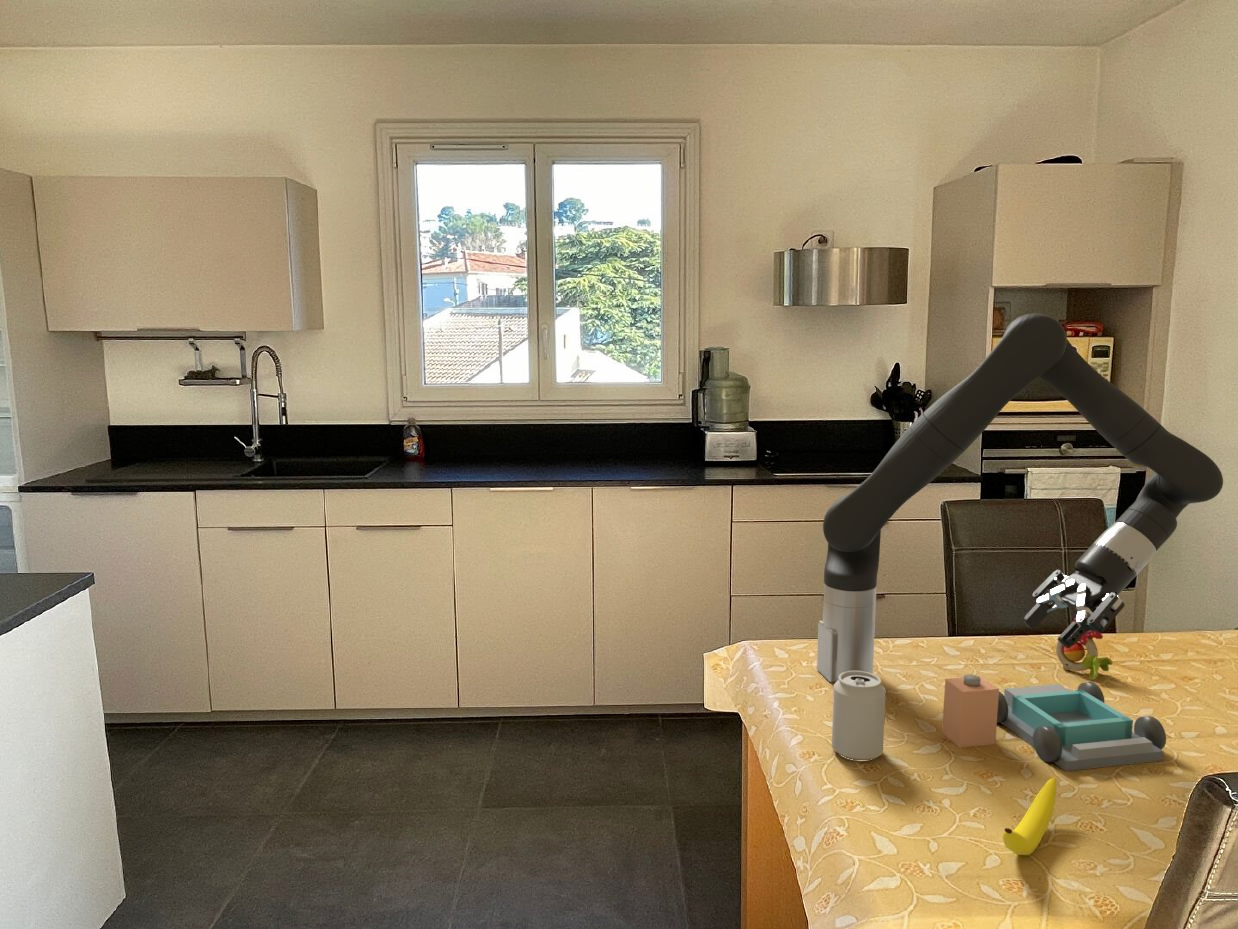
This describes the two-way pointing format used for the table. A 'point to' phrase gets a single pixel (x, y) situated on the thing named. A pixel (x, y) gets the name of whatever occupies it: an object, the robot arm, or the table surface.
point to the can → (858, 715)
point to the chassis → (1079, 727)
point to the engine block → (970, 711)
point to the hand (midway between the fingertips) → (1044, 634)
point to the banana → (1032, 822)
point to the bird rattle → (1078, 652)
